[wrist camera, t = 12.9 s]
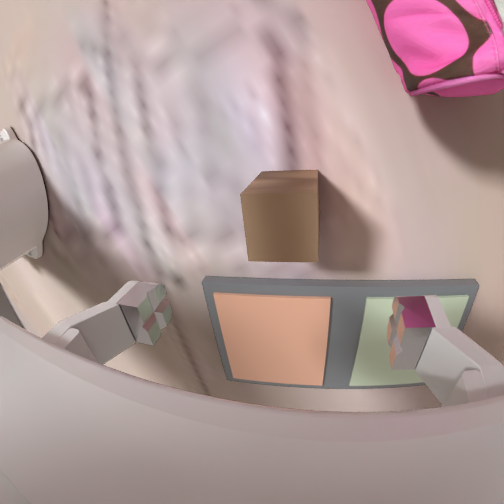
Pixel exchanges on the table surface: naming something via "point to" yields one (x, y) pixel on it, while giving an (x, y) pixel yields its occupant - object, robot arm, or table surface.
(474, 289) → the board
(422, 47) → the pencil case
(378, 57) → the table surface
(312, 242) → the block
